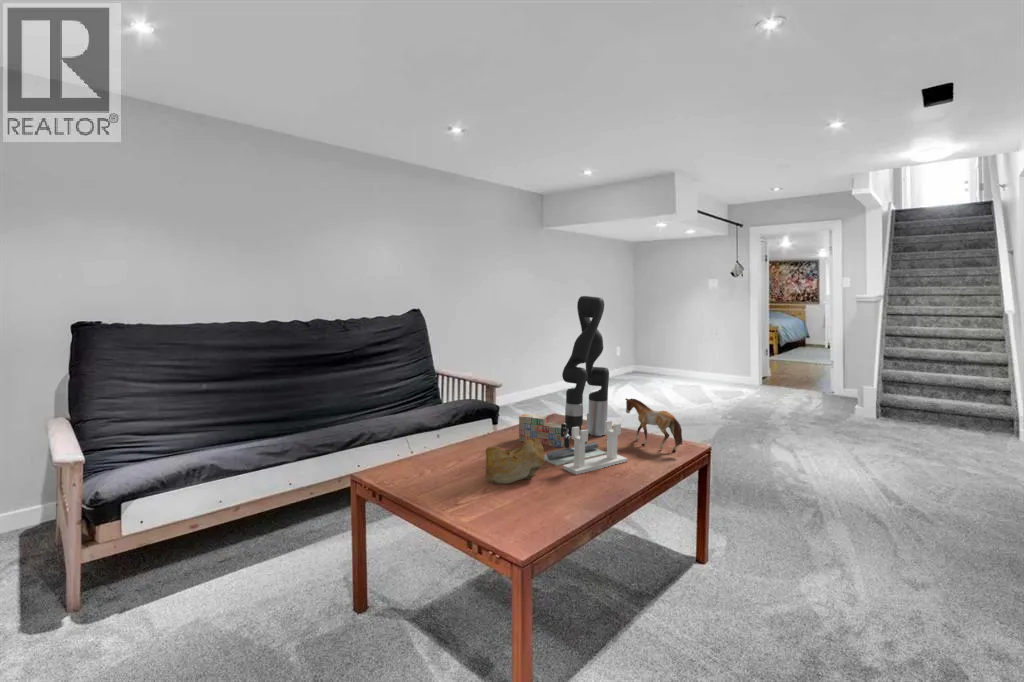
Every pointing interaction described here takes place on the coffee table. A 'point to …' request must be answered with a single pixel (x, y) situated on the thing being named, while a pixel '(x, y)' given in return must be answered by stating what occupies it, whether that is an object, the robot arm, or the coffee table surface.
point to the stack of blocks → (540, 430)
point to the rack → (597, 462)
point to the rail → (570, 451)
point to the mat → (571, 458)
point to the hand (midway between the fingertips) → (573, 450)
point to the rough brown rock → (514, 462)
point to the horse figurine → (655, 421)
